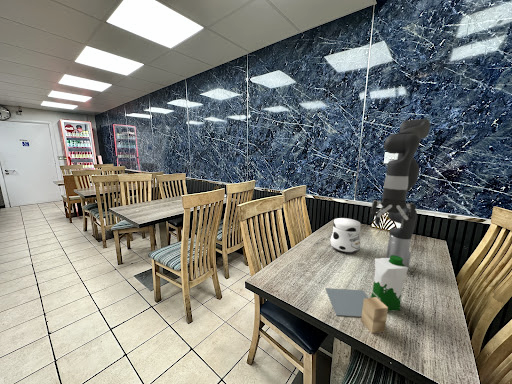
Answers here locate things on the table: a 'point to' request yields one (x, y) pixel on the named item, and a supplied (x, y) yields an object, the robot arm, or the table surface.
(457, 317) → the table surface
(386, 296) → the soya milk
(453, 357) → the table surface
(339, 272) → the table surface
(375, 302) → the oak block
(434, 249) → the table surface
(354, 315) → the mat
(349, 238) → the milk container
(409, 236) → the robot arm
